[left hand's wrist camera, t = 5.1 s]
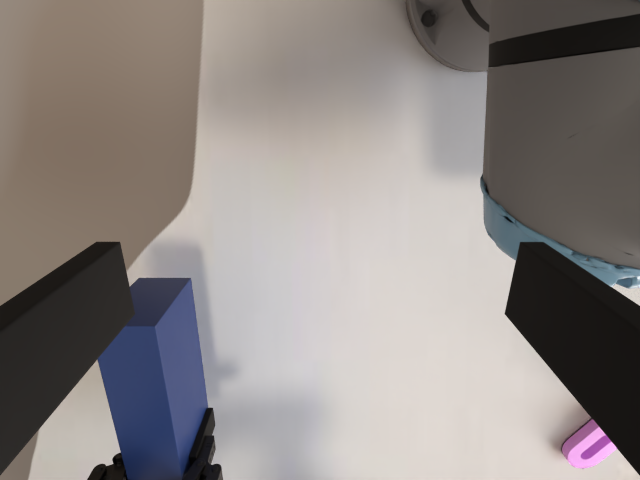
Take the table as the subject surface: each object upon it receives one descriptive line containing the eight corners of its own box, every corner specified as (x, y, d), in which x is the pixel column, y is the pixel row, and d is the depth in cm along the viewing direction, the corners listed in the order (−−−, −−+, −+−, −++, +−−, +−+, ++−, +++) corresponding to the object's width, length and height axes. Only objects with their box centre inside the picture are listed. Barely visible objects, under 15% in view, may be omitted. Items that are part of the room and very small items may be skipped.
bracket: (620, 395, 53) (662, 437, 47) (647, 411, 54) (691, 454, 48) (554, 450, 57) (584, 496, 51) (580, 464, 58) (612, 510, 52)
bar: (139, 277, 39) (88, 326, 31) (191, 277, 39) (155, 326, 31) (169, 439, 47) (136, 513, 39) (212, 439, 47) (188, 513, 39)
